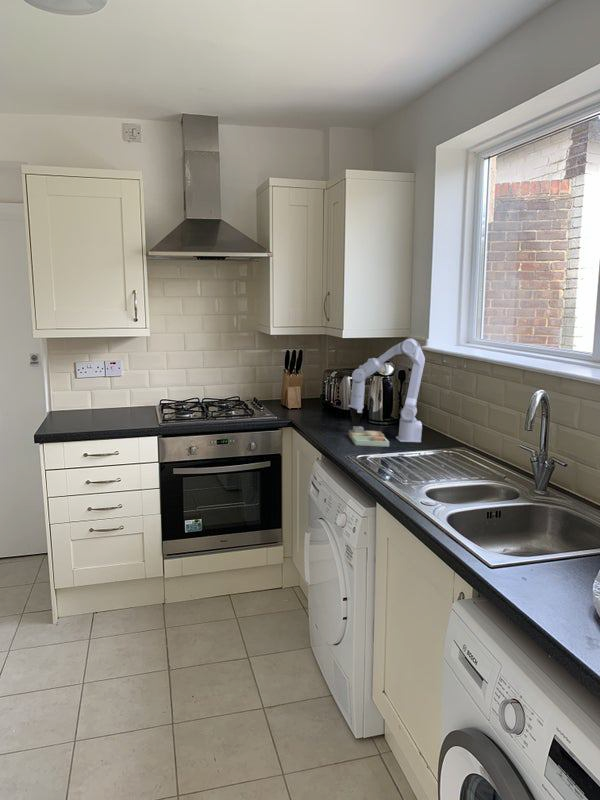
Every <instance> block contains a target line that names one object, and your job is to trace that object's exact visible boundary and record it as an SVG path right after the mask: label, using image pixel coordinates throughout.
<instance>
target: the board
mask: <svg viewBox="0 0 600 800" xmlns="http://www.w3.org/2000/svg"><path fill="white" fill-rule="evenodd" d="M352 436H382V437H385V434H384V433H382V431H381V430H364V433H354V432H353V429H349V430H348V437H349V438H350V439H351V441H352Z"/></svg>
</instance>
